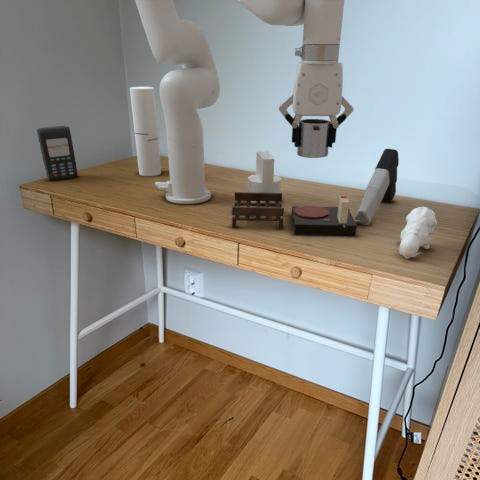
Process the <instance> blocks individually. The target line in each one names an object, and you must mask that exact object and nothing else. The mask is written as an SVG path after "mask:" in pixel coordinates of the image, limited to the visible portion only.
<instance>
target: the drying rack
mask: <svg viewBox="0 0 480 480" xmlns="http://www.w3.org/2000/svg"><path fill="white" fill-rule="evenodd" d="M234 201H235V202H234V206H231V216H232V217H231V227H232V229H237V223H238V222H239V221H240V222H278V229H279V230H282V229H284V216H285V215H284V214H285V207H284V206H283V204H282V203H283V202H282V201H283V192H280V193H258V192H248V191H234ZM251 201H256V202H251ZM260 201H266V203H260ZM270 201H275V203H270ZM279 201H280V202H279ZM282 206H283V207H282ZM237 221H238V222H237Z"/></svg>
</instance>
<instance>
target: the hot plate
mask: <svg viewBox="0 0 480 480" xmlns="http://www.w3.org/2000/svg"><path fill="white" fill-rule="evenodd" d="M299 206H300V207H297V208H295V210H294V213H295V214H297V215H298V216H301V217H306V218H322V217H326V216H328V215H329V211H328V210H327V209H326V208H323V207H324V206H319V205H299Z"/></svg>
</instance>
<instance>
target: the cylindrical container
mask: <svg viewBox="0 0 480 480" xmlns="http://www.w3.org/2000/svg"><path fill="white" fill-rule="evenodd" d="M129 94H130V103H131V113H132V122H133V123H132V124H133V132H134V140H135V149H136V159H137V168H138V174H139V176H141V177H142V176H143V177H155V176H160V175H161V174H162V167H161V166H162V165H161V153H160V143H159V132H158V119H157V108H156V107H157V106H156V95H155V87H153V86H131V87H129Z"/></svg>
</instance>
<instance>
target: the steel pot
mask: <svg viewBox="0 0 480 480" xmlns="http://www.w3.org/2000/svg"><path fill="white" fill-rule="evenodd" d="M298 125H299V126H298V127H299V143H298V147H296V155H297V156H299V157H301V158H307V159H320V158H327V157H328V156H329V148H330V147H329V137H330V127H331V121H330V119H329V120H328V119H324V118H323V119H322V118H304V119H301V120H300V122H299V124H298Z"/></svg>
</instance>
